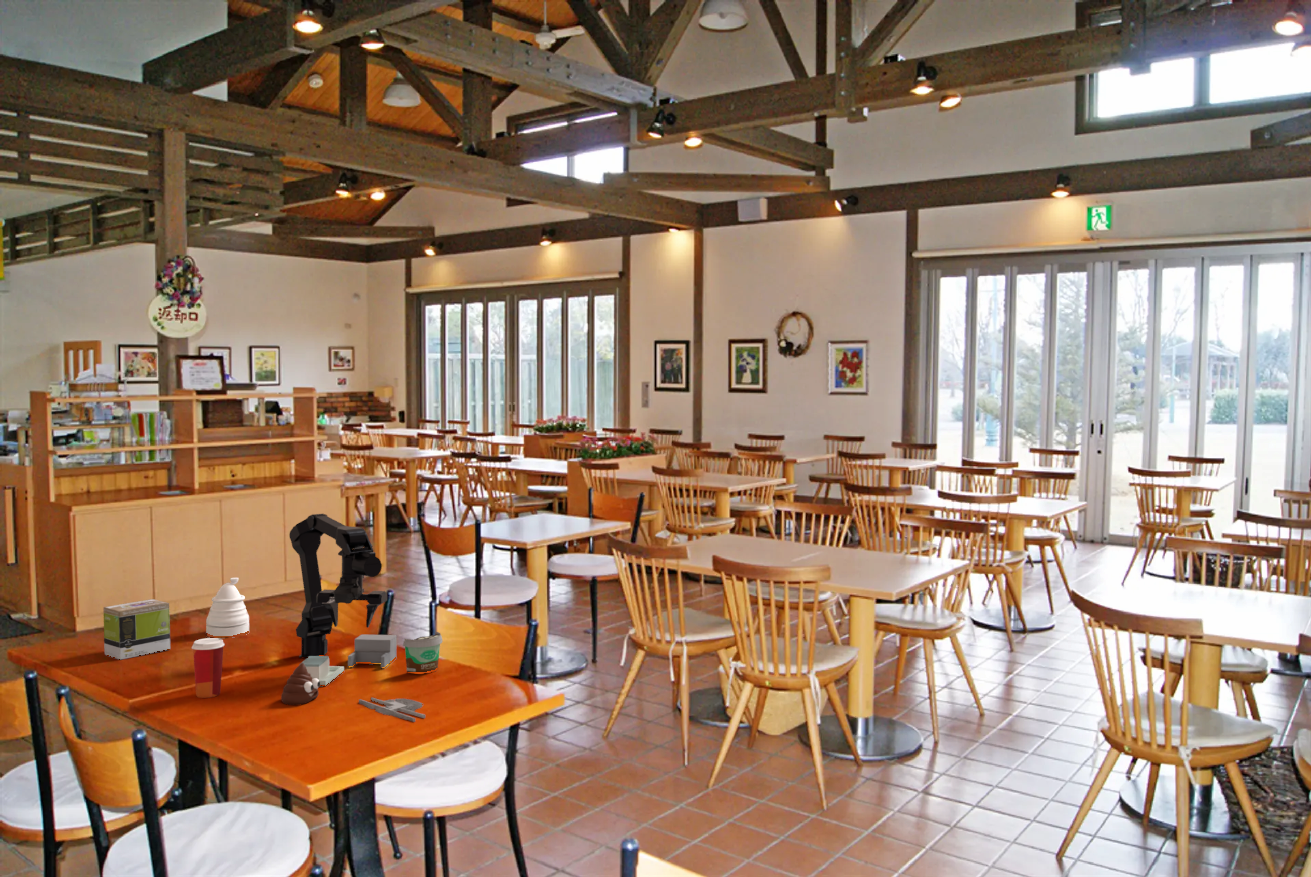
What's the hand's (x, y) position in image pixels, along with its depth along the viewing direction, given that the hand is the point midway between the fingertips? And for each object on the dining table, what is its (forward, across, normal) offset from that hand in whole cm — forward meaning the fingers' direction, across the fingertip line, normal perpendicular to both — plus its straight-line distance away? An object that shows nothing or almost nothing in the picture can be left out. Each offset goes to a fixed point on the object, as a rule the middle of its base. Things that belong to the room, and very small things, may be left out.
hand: (351, 626), depth 273 cm
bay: (+12, +4, +6) cm, 14 cm away
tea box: (+12, -69, +10) cm, 71 cm away
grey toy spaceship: (+12, +24, -35) cm, 44 cm away
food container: (+12, +22, -1) cm, 25 cm away
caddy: (+11, -6, -13) cm, 18 cm away
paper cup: (+12, -27, -28) cm, 41 cm away
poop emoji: (+12, -2, -30) cm, 32 cm away
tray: (+12, -6, -11) cm, 17 cm away
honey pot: (+12, -54, +36) cm, 67 cm away
